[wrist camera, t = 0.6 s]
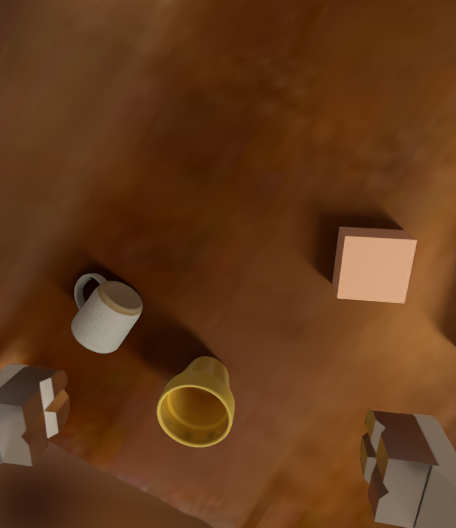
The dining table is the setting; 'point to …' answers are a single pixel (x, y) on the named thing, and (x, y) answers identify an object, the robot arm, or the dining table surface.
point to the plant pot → (198, 404)
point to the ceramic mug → (105, 314)
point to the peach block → (373, 264)
